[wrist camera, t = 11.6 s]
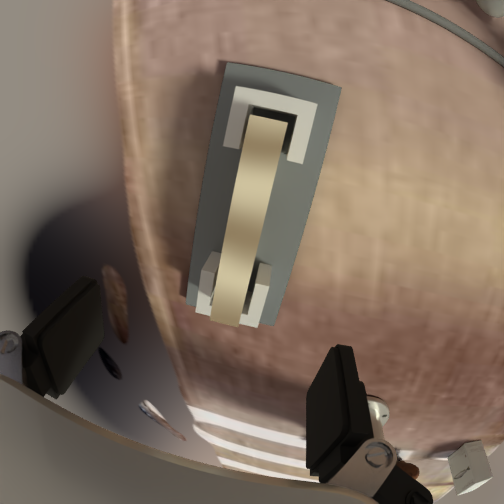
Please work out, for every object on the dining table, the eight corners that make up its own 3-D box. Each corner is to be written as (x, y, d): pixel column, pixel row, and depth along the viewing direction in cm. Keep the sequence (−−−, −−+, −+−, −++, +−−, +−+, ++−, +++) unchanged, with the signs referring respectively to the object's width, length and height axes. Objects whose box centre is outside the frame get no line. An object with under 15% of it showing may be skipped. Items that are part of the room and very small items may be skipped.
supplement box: (464, 442, 44) (476, 483, 33) (481, 439, 44) (494, 476, 32) (446, 458, 47) (455, 496, 36) (464, 454, 47) (474, 490, 36)
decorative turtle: (423, 450, 45) (429, 479, 38) (372, 477, 51) (374, 503, 44) (400, 444, 43) (407, 476, 36) (346, 472, 49) (348, 501, 42)
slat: (248, 284, 30) (238, 327, 24) (225, 278, 30) (209, 320, 24) (287, 123, 23) (287, 122, 17) (259, 117, 23) (249, 114, 17)
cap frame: (274, 320, 33) (271, 350, 28) (188, 299, 33) (174, 325, 28) (339, 88, 22) (351, 81, 18) (229, 64, 22) (216, 52, 18)
